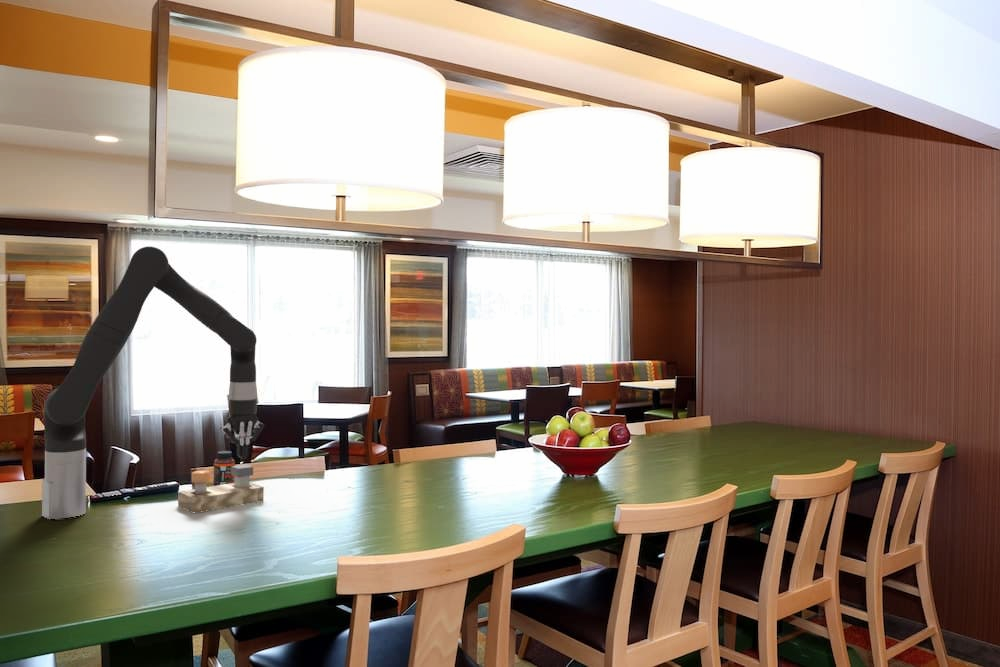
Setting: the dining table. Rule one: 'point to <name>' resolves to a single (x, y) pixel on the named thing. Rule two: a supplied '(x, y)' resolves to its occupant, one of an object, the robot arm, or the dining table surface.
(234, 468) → the square knob
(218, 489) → the mount
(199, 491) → the round knob
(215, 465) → the supplement bottle
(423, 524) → the dining table surface
